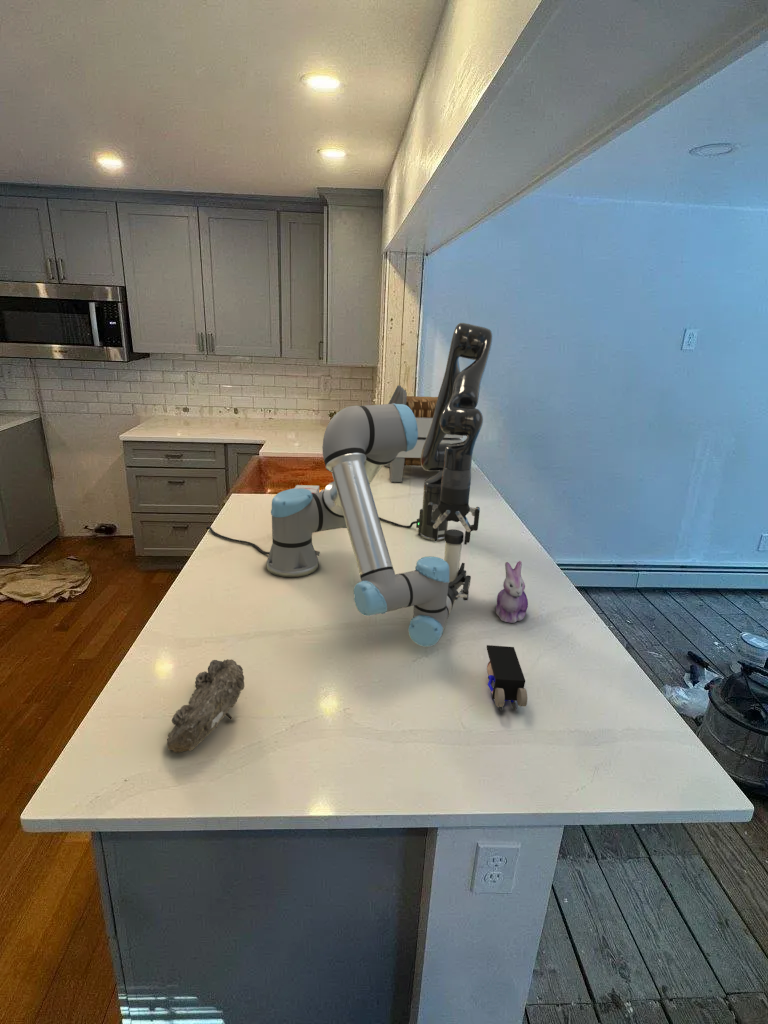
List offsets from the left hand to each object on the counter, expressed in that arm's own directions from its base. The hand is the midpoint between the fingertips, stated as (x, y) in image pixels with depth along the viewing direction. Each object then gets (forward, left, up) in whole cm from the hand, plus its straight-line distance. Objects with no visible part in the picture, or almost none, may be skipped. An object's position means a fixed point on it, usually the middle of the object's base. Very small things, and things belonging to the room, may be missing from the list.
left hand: (454, 565), depth 162 cm
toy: (-62, +35, -7) cm, 71 cm away
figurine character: (+19, -45, -7) cm, 49 cm away
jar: (0, -5, -7) cm, 8 cm away
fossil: (-33, -71, -7) cm, 79 cm away
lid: (0, -5, +12) cm, 13 cm away
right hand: (-1, -6, +9) cm, 11 cm away
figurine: (+18, -11, -7) cm, 22 cm away
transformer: (-37, +112, -7) cm, 119 cm away
